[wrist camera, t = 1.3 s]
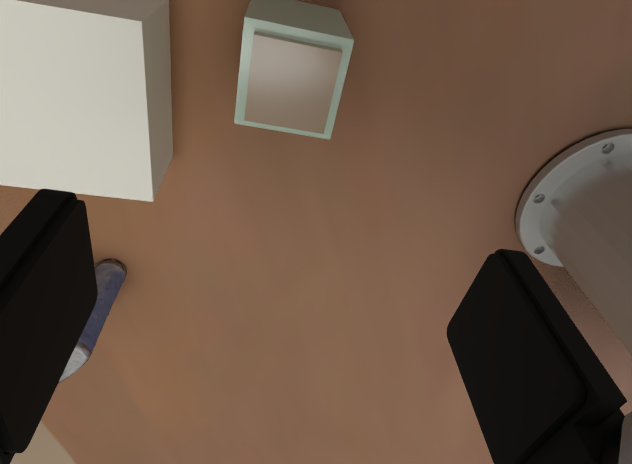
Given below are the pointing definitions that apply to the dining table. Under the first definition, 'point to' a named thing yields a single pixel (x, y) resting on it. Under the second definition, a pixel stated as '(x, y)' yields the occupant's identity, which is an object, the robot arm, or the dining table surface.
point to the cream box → (86, 96)
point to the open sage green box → (292, 67)
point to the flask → (96, 313)
